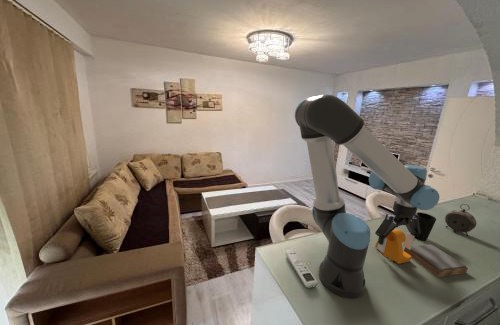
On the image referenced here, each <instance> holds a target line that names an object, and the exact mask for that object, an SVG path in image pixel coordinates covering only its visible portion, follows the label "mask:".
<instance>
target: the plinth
mask: <svg viewBox="0 0 500 325" xmlns="http://www.w3.org/2000/svg"><path fill="white" fill-rule="evenodd" d="M403 251H405V252H406V253H408V254H409V255H411V259H412V260H414V261H415V262H416V263H418V264H419V265H421V266H422V267H423V268H425V269H426V270H427V271H429V272H430V274H432V275H434V276H435V277H436V278H440V277H447V276H455V275H461V274H467V272H468V269H469V268H468V267H467V266H466V264H464V263H463V262H461V261H459V260H458V259H455V258H454V257H453V256H451V255H449V254H447V253H446V252H444V251H443V250H441V249H439V248H438V247H437V246H435V245H434V244H421V245H420V244H419V245H412V247H411V250H409V249H408V248H406V247H405V246H404V249H403Z"/></svg>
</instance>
